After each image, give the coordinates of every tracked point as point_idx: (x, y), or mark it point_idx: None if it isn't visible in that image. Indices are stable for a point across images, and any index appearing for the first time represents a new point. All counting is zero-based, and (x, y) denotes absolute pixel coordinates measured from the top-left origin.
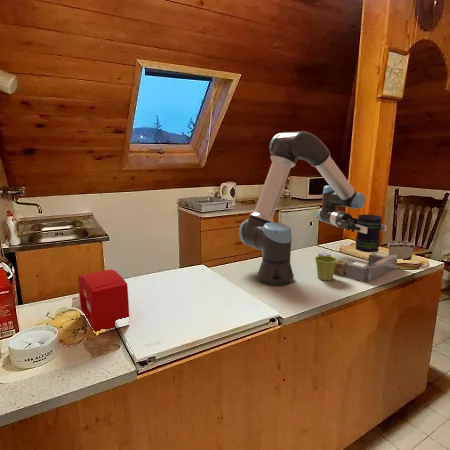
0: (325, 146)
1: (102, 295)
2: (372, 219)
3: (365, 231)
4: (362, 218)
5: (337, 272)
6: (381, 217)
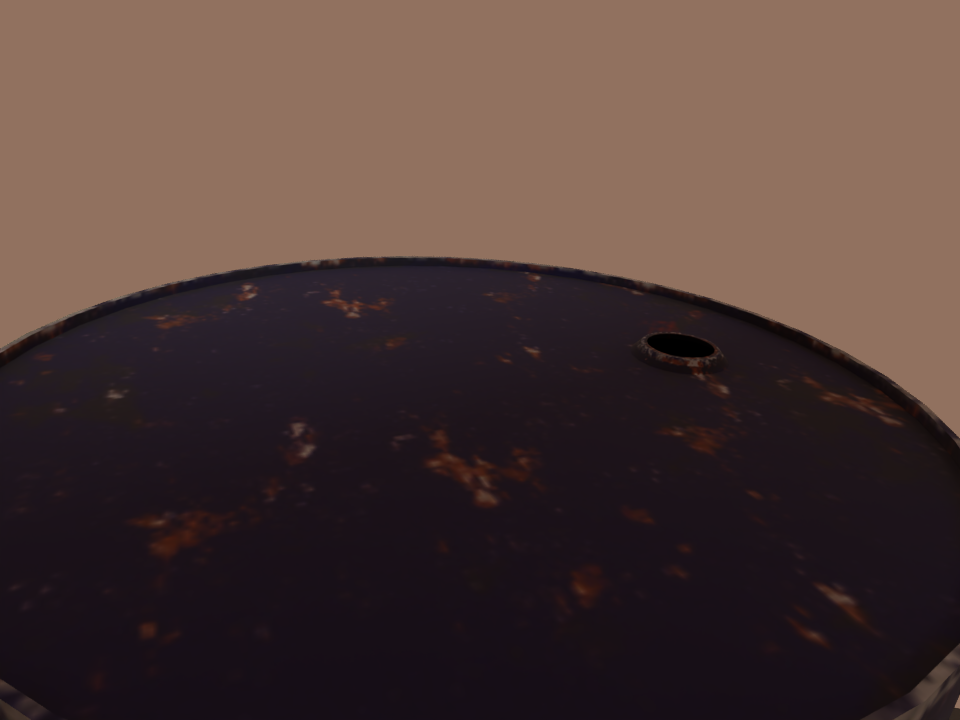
0: None
1: None
2: (674, 306)
3: None
4: (911, 428)
5: None
6: (256, 277)
